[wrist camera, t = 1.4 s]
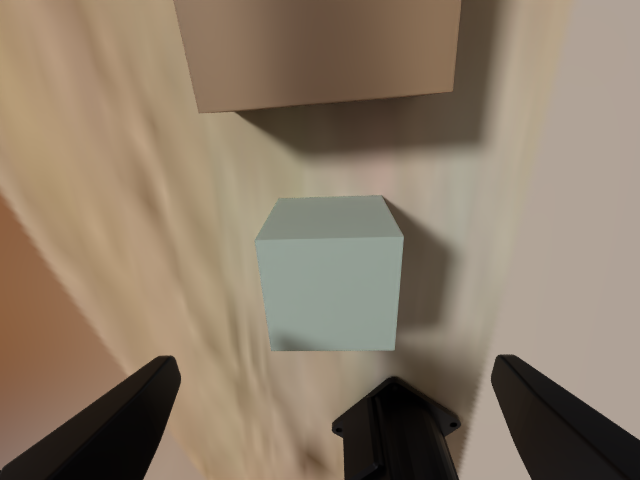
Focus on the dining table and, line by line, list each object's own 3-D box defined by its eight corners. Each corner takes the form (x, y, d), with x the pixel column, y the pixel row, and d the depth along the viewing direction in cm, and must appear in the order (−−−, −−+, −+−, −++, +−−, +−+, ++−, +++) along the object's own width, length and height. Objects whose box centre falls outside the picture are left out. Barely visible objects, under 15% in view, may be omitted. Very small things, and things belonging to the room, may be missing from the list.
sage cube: (380, 194, 14) (403, 236, 10) (377, 282, 16) (394, 350, 12) (278, 198, 15) (254, 240, 10) (287, 283, 17) (271, 350, 12)
